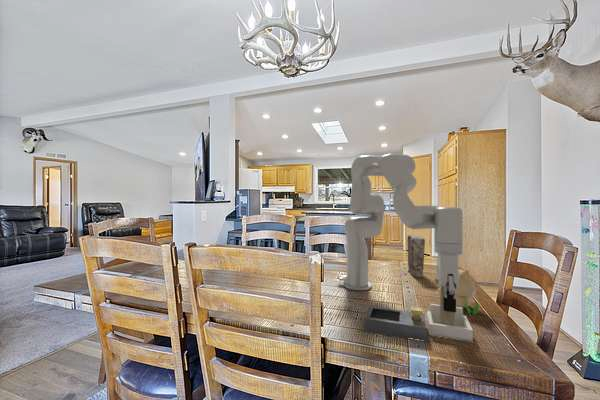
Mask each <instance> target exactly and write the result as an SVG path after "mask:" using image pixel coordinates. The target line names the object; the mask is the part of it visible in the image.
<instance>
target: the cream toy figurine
mask: <svg viewBox="0 0 600 400" xmlns="http://www.w3.org/2000/svg"><path fill="white" fill-rule="evenodd" d="M476 281H477V280H475V278H474V277H473V275H472V274H471V273H469V269H468V268H467V269H465V270H464V269H459V284H458V288H457V289H455V294H456V307H462V308H463V309H464V308H465V309H466V311H467V314H473V315H477V314H478V311H479V303H478V301H477V300H476V299H474V301H475V305H474V307H473V310H472V309H470V308H469V307H471V305H472V303H471V299H469V298H473V297H474V296H475V295H476V293H477V286H478V285H477V282H476ZM437 293H438V294H439V295H440V294H441V288H440V287H438V288H437Z"/></svg>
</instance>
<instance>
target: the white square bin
mask: <svg viewBox="0 0 600 400" xmlns="http://www.w3.org/2000/svg"><path fill="white" fill-rule="evenodd" d="M426 312H427V314H426V315H427V316H426V318H427V321H426V323H427V322H428V323H427V328H429V329H428V335H433V336H432V337H434V336H441V337H447V338H451V339H450V340H453V339H455V341H459V340H460V341H459V342H465V343H466V342H467V343H471V344H472V343H474V330H473V328H472V326H471V324H470V322H469V319H468V317H467V315H464V308H462V307H457V306H456V312H455V320H454V324H453V325H454V326H450V325H443V324H441V317H440V304H436V303H430V310H427V311H426ZM447 338H446V339H447Z"/></svg>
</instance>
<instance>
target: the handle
mask: <svg viewBox="0 0 600 400" xmlns="http://www.w3.org/2000/svg"><path fill="white" fill-rule="evenodd" d="M434 282H435V283H436V284H437V285H439V284H438V277H437V276H434ZM458 284H459V281H458ZM446 287H449V286H448V285H446ZM439 288H441V294H439V296H440V298H439V299H440V300H439V305H440V317H441V324H443V325H450V326H454V325H453V324H454V320H455V312H448V311H444V309H443V297H445V294H444V287H443V286H442V287H440V286H439ZM447 291H449V289H447Z"/></svg>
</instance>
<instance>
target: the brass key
mask: <svg viewBox="0 0 600 400" xmlns="http://www.w3.org/2000/svg"><path fill="white" fill-rule="evenodd" d="M410 311H411V313H413V320H415V321H420V314H421V315H422V313H423V309H422V307H420V306H410Z"/></svg>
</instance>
